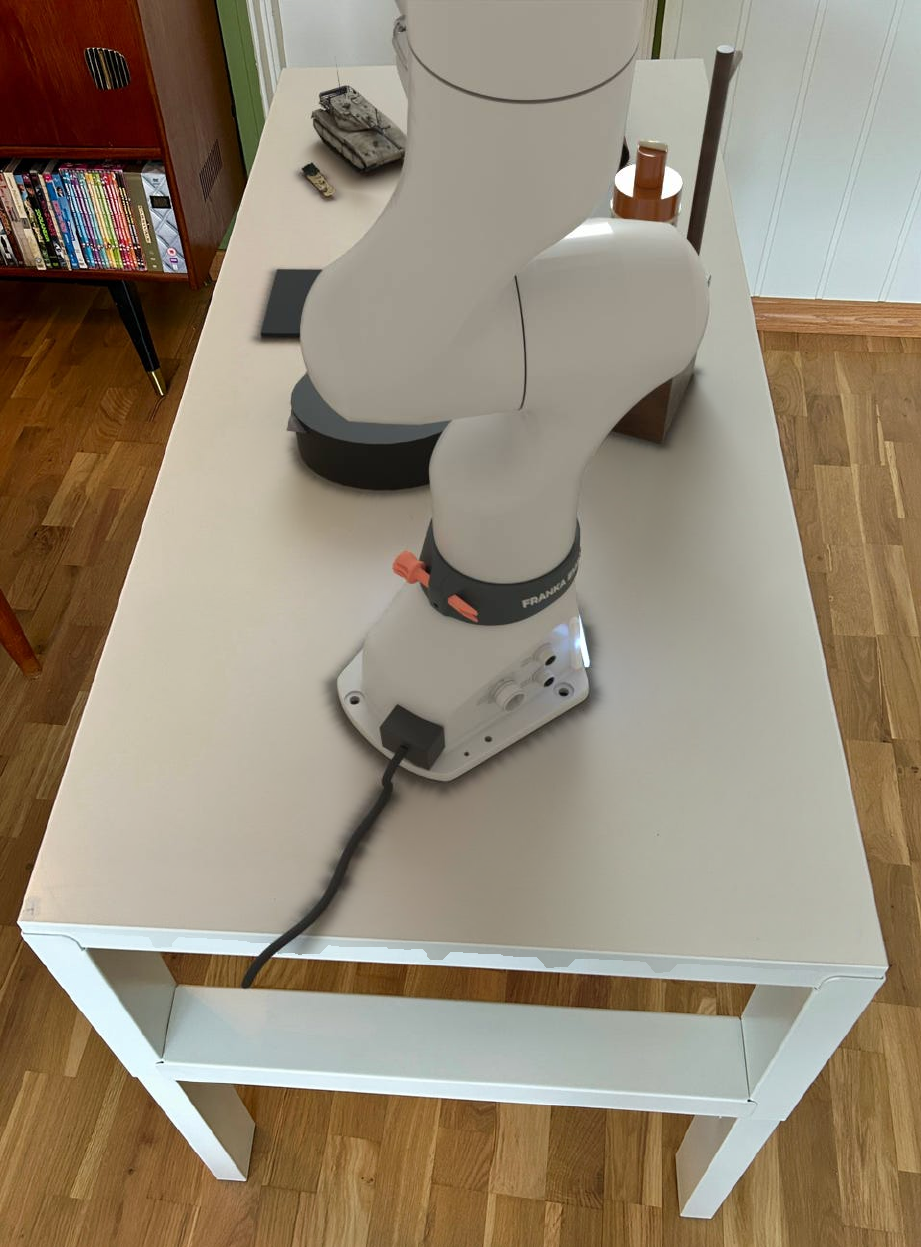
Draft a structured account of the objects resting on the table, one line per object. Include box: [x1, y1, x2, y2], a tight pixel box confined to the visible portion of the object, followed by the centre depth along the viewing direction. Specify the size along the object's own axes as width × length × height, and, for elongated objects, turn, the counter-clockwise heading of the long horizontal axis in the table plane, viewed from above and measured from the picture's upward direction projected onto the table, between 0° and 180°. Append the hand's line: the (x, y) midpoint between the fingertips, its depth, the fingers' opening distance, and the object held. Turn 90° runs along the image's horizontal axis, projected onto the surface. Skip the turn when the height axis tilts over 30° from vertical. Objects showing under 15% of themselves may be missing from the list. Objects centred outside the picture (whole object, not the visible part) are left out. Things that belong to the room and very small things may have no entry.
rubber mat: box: [260, 268, 324, 339], centre depth 123 cm, size 12×12×1 cm
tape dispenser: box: [286, 370, 452, 491], centre depth 107 cm, size 14×18×8 cm
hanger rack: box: [610, 44, 744, 445], centre depth 99 cm, size 12×12×36 cm
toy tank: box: [310, 57, 407, 174], centre depth 139 cm, size 8×18×10 cm, turn 33°
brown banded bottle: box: [610, 138, 684, 229], centre depth 97 cm, size 6×6×16 cm
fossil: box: [301, 161, 337, 197], centre depth 139 cm, size 8×2×1 cm, turn 30°
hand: (521, 158), depth 95 cm, fingers open, 8 cm apart
